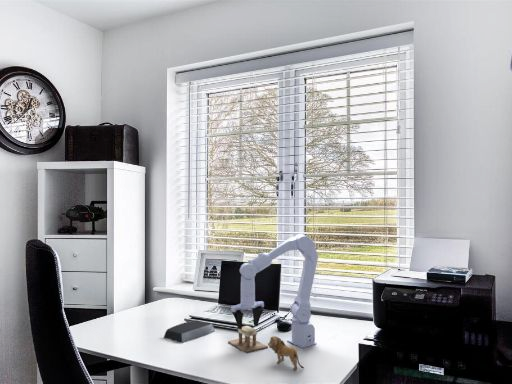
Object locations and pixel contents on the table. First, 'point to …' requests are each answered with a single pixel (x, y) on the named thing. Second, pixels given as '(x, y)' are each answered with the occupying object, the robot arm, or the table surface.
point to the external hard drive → (189, 331)
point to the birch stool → (247, 335)
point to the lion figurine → (284, 351)
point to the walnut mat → (247, 349)
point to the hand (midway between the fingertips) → (247, 327)
